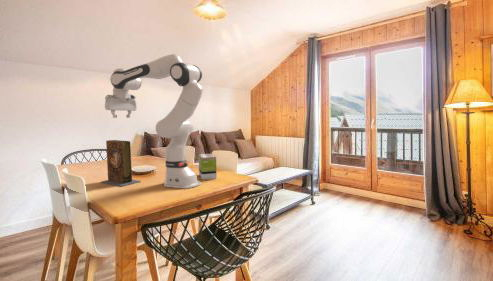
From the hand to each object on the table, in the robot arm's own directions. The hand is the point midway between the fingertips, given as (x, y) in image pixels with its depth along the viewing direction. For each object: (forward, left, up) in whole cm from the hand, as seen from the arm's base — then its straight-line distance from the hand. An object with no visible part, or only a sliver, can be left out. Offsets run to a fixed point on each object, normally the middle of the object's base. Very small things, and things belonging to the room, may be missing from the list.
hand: (121, 117), depth 163 cm
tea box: (-43, -31, -40) cm, 67 cm away
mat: (-5, +6, -40) cm, 40 cm away
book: (-4, +7, -39) cm, 40 cm away
